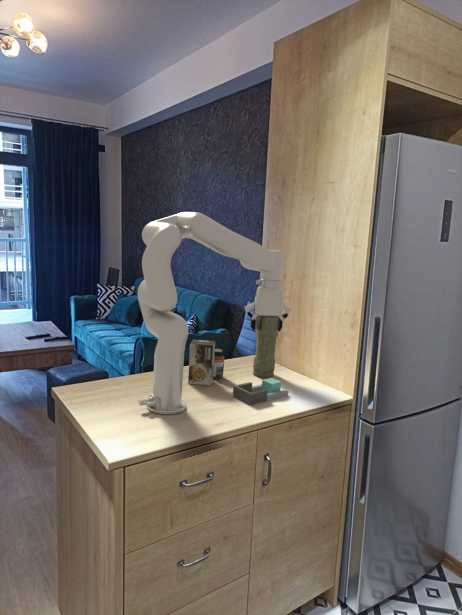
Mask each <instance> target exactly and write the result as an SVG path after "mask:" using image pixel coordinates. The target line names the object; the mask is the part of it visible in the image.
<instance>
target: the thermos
mask: <svg viewBox="0 0 462 615" xmlns="http://www.w3.org/2000/svg"><path fill="white" fill-rule="evenodd" d="M278 319H279V318H278V316H260V315H258V316H257V317H256V318H255V320H256V326H255V330H256V332H255V333H256V335H257V336H256V346H255V356H254V357H253V362H252V363H253V365H252V368H253V372H252V376H254V377H257V378H260V379H269V378H273V377H274V375H275V374H274V371H275V367H276V357H275V356H276V346H277V345H276V343H277V337H278V335H279V331H278V330H277V320H278Z"/></svg>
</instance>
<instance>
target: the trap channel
mask: <svg viewBox="0 0 462 615" xmlns="http://www.w3.org/2000/svg"><path fill="white" fill-rule="evenodd" d="M232 388H233V389H232V397H233V398H235V399H237V400H239V401H241V402H242V403H245V404H247V405H248V406H253V405H256V403H257V404H260V402H261V403H265V402H268V401H272V400H275V399H279V398H283V397H287V396H289V389H286V388H285V389H282V390H281V389H280V391H277V392H273V393H269V394H268V390H266V389H264V390H261V388H262V383H261V384H258V385H253V382H251V381H249V382H246V383H240V384H237V385H233V386H232Z"/></svg>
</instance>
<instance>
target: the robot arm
mask: <svg viewBox="0 0 462 615" xmlns="http://www.w3.org/2000/svg"><path fill="white" fill-rule="evenodd" d="M141 231H142V232H141V239H142V241H143V243H144V244H145V245H146V247H145V249H144V252H143V255H142V260H141V268H142V274H143V278H144V279H143V280H142V281H141V282H140V284H139V286H138V288H137V300H138V304H139V307H140V312H141V314H142V320H143V322H144V325H145V327H146V329H147V331H148V332H149V333H150V334H151V335H152V336H154V337H155V338H157V344H156V346H155V350H154V355H153V356H154V357H153V358H154V359H153V361H154V363H153V381H152V393H149V396H148V397H147V398H143V399H139V400H138V406H146V408H147V410H149V411H151V412H152V413H154V414H159V415H175V414H179V413H183V411H184V410H186V406H187V405H186V402H185V401H184V400H182V399H183V398H182V396H183V382H184V381H183V378H184V364H185V363H184V362H185V350H186V345H187V340H188V336H189V326H188V323H187V321H186V319H184V318H183V317H182V316H181V315H179V314H178V313H175V312H173V309H175V307H176V305H177V304H178V295H177V290H176V289H177V288H176V286H175V281H174V277H173V273H172V269H171V262H172V261H171V260H172V257H173V255H174V253H175V251H176V250H177V249H178V247H179V246H180V245H181V242H182V240H183V239H191V240H193V241H195V242H197V243H198V244H199V243H200V244H201V245H203V246H205V247H207V248H208V249H210V250H212V251H214V252H216V253H218V254H219V255H222V256H225V257H228V258H231V259H236V260H239V263H240V265H241V266H242V267H243V268H244V269H247V270H250V271H255V272H260V277H259V279H257V280H255V284H256V285H259V286H258V287H257V289H256V293H255V295H254V296H255V297H254V301H253V302H252V303H249V304H247V305H244V308H243V309H244V310H245V312H246V315H247V316H248V317H249V318H250V323H249V324H250V328H251V330H252V331H253V332H254V331H256V317H257V316H258V315H260V316H278V318H279V319H278V320H277V330H278V332H281V331H282V329H283V322H284V321H285V319H286V318H288V317H289V315H290V313H291V312H292V309H291V308H290V307H289V306H286V305H285V304H284V291H283V288H281V283H282V272H283V264H284V263H283V262H284V261H283V260H284V253H283V251H281V250H278V249H268V248H266V247H265V246H264V245H261V244H260V243H258V242H256V241H254V240H252V239H250V238H247V237H245V236H244V235H241V234H240V233H237V232H235V231H233V230H231V229H229V228H228V227H225V226H224V225H222V224H220V223H219V222H217V221H215V220H214V219H212V218H211V217H209V216H207V215H206V214H204V213H201V212H197V211H183V212H179V213H177V214H173V215H169V216H166V217H163V218H160V219H156V220H154V221H150V222H149V223H147V224H146V225H145V226H144V227H143V230H141ZM252 308H253V312H252V313H251V311H250V309H252ZM284 310H285V312H284ZM283 312H284V313H283Z"/></svg>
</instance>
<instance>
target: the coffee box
mask: <svg viewBox="0 0 462 615" xmlns="http://www.w3.org/2000/svg"><path fill="white" fill-rule="evenodd" d="M215 349H216V340H215V341H214V340H207V339H206V340H204V339H192V341H191V342H190V344H189V360H188V379H187V384H189V385H190V384H191V385H200V386H209V387H210V386H212V385H213V382H214V379H213V370H214V355H215Z"/></svg>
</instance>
